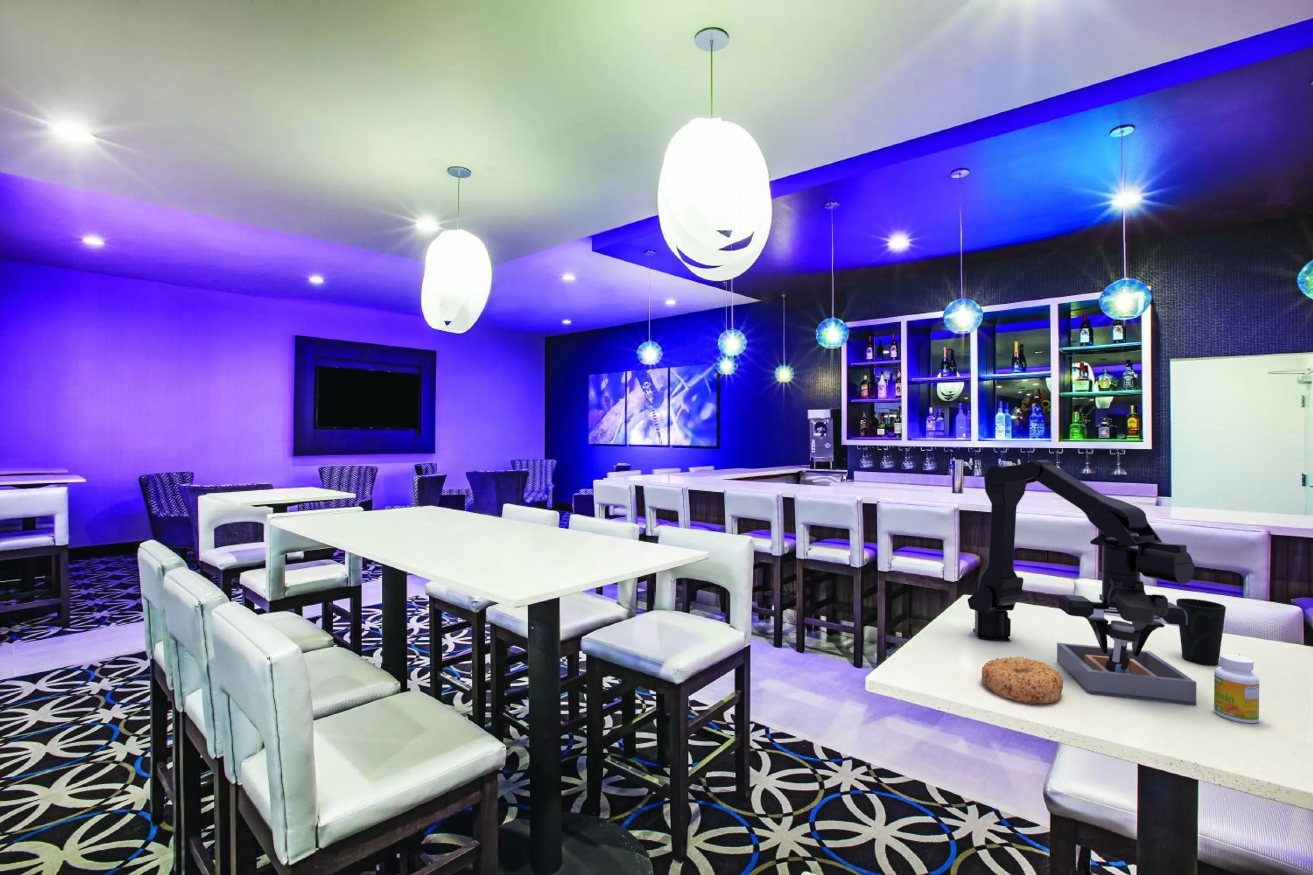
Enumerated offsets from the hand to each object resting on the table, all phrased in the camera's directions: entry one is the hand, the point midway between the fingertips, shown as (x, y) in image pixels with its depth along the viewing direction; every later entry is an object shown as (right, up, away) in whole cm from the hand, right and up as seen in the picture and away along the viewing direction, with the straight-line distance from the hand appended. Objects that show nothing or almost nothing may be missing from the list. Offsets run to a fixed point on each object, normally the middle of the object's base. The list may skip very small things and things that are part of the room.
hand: (1119, 654), depth 114 cm
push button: (0, -4, 0) cm, 4 cm away
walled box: (0, -5, 0) cm, 5 cm away
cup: (+25, -6, +11) cm, 28 cm away
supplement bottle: (+8, -5, -14) cm, 17 cm away
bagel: (-21, -5, -4) cm, 22 cm away
